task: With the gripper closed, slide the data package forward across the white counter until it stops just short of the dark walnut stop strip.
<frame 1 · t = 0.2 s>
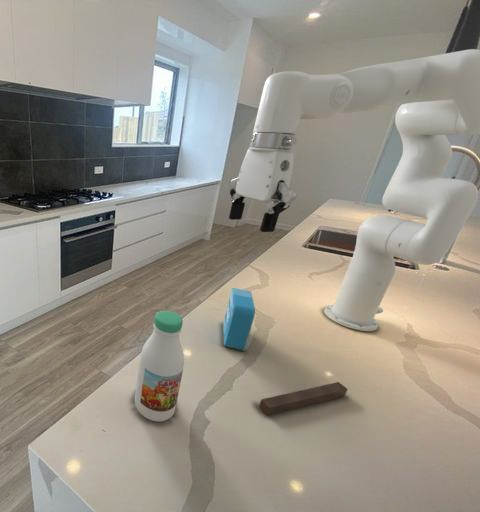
hand: (249, 224, 67), 31 cm above the counter, tool pointing down, fingers open, 9 cm apart
milk bottle: (154, 406, 57), on the counter
data package: (232, 337, 79), on the counter
stop strip: (302, 401, 60), on the counter
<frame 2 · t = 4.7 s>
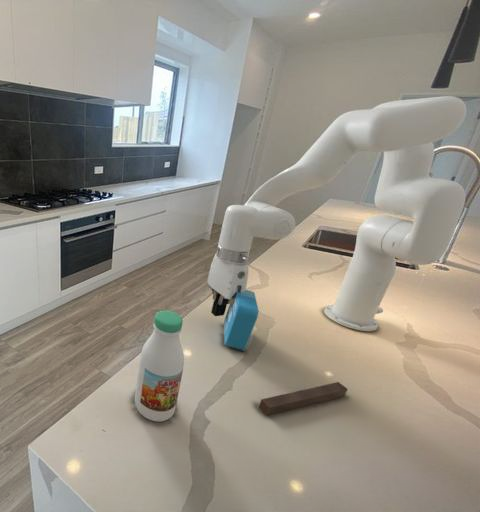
hand: (217, 314, 84), 3 cm above the counter, tool pointing down, fingers closed
nothing on the counter moved.
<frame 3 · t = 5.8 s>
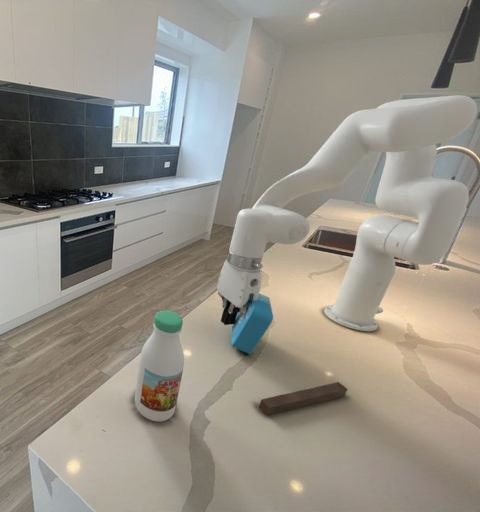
hand: (227, 322, 80), 3 cm above the counter, tool pointing down, fingers closed
data package: (239, 339, 77), on the counter, touching gripper
everything else where it was.
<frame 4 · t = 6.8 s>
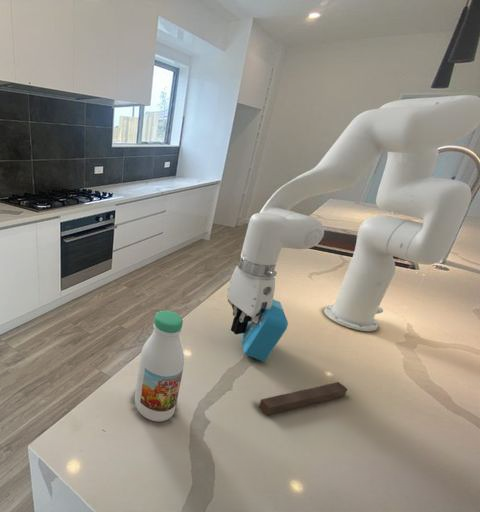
hand: (237, 331, 76), 3 cm above the counter, tool pointing down, fingers closed
data package: (250, 346, 75), on the counter, touching gripper
everything else where it was.
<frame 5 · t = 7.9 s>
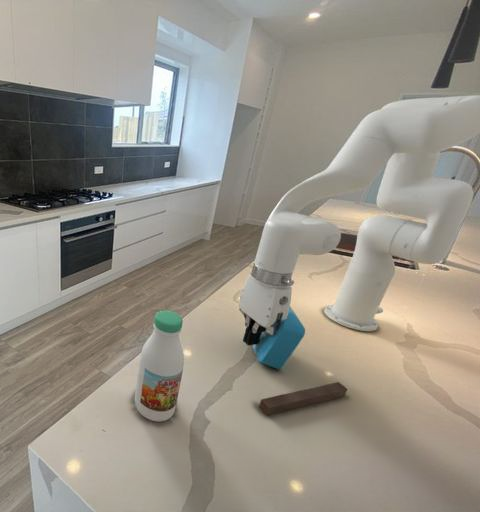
hand: (250, 342, 72), 3 cm above the counter, tool pointing down, fingers closed
data package: (262, 352, 73), on the counter, touching gripper
everything else where it was.
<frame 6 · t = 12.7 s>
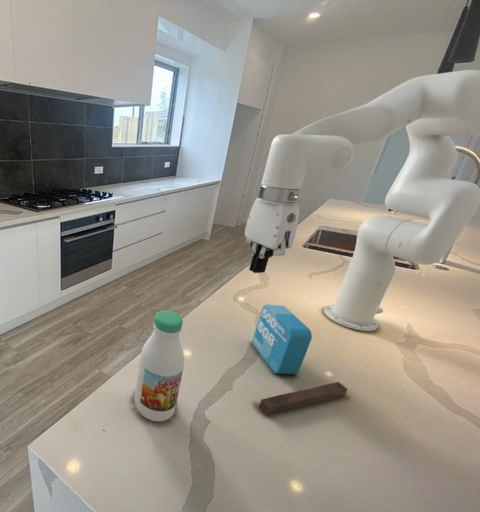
hand: (256, 271, 72), 19 cm above the counter, tool pointing down, fingers closed
data package: (272, 359, 71), on the counter
everything else where it was.
at the end: data package inside the target area (5.0 cm from its centre), on the counter; data package moved 10.1 cm from its start; data package tilted 0° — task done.
